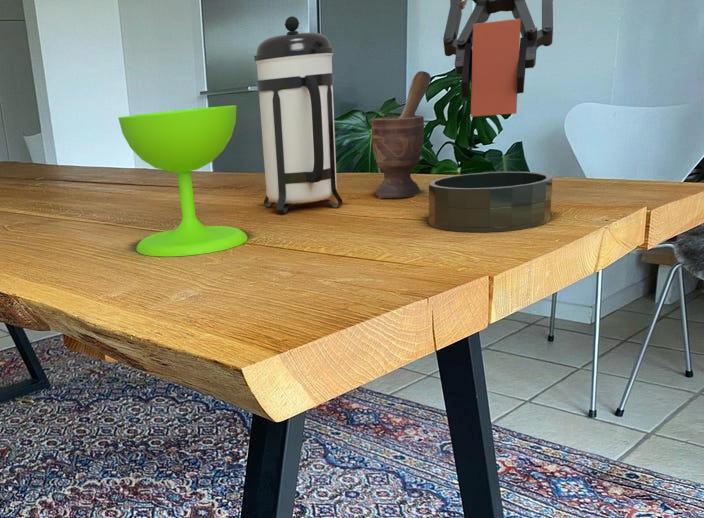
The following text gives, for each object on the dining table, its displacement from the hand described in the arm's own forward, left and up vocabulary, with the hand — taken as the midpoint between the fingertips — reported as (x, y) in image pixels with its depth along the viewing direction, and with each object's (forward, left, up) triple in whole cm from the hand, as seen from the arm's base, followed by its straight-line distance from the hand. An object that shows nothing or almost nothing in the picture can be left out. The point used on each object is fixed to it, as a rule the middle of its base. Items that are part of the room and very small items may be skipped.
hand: (492, 87), depth 92 cm
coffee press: (+29, -21, -17) cm, 40 cm away
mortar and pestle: (+14, -31, -17) cm, 38 cm away
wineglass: (+40, +6, -17) cm, 44 cm away
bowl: (0, -3, -17) cm, 17 cm away
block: (0, -4, -3) cm, 5 cm away
